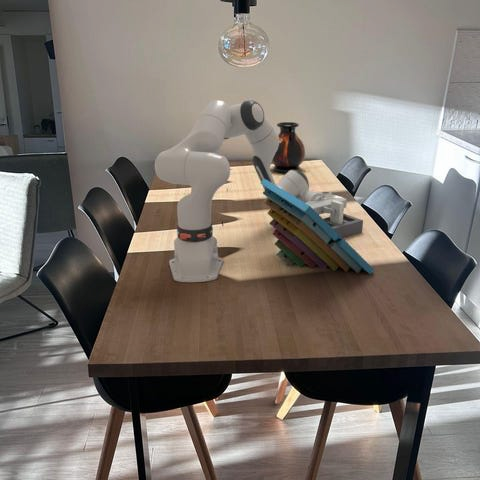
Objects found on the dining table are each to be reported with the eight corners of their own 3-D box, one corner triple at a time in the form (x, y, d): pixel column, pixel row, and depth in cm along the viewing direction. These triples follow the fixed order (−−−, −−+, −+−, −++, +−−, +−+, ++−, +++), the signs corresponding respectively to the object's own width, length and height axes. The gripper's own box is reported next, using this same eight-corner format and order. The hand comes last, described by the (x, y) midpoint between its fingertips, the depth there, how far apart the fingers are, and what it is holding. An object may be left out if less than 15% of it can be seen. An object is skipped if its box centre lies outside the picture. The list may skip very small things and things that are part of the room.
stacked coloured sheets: (292, 267, 193) (231, 215, 176) (322, 234, 192) (264, 178, 175) (338, 309, 162) (270, 250, 145) (374, 269, 161) (309, 205, 145)
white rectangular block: (342, 231, 195) (344, 203, 191) (338, 233, 194) (340, 203, 190) (332, 228, 199) (334, 200, 195) (329, 229, 198) (331, 200, 194)
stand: (362, 231, 198) (363, 220, 196) (328, 242, 188) (329, 230, 186) (342, 224, 206) (342, 213, 205) (308, 234, 196) (309, 222, 195)
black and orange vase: (263, 168, 304) (264, 122, 294) (296, 165, 310) (297, 120, 300) (276, 176, 285) (277, 127, 275) (310, 173, 291) (312, 125, 281)
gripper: (295, 199, 197) (319, 208, 186) (332, 191, 208) (356, 198, 197) (295, 214, 199) (318, 223, 189) (331, 205, 210) (355, 213, 200)
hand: (338, 210), depth 193 cm, fingers open, 3 cm apart
